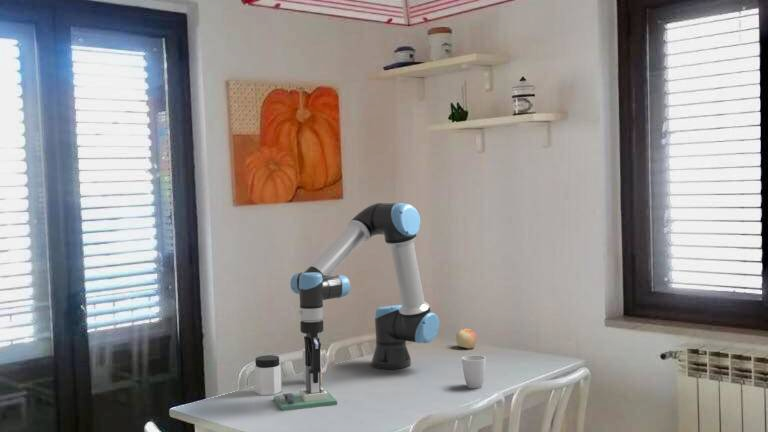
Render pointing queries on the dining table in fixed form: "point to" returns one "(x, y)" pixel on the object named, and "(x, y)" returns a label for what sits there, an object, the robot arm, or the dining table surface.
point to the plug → (308, 380)
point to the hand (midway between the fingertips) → (313, 390)
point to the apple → (466, 338)
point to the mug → (321, 363)
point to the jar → (267, 375)
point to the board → (304, 400)
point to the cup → (474, 370)
